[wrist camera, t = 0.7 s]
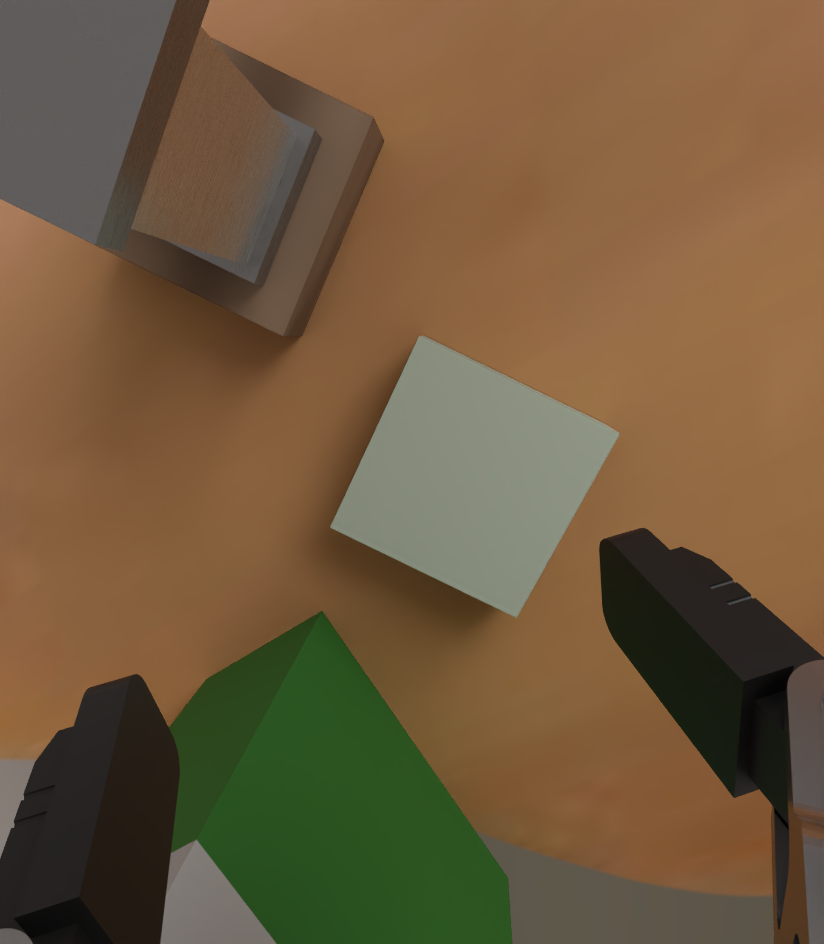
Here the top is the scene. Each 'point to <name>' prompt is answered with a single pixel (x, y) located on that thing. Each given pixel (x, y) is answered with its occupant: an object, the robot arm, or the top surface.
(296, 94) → the walnut stand
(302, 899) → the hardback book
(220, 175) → the grey square pedestal
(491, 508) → the green stand
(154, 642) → the top surface
